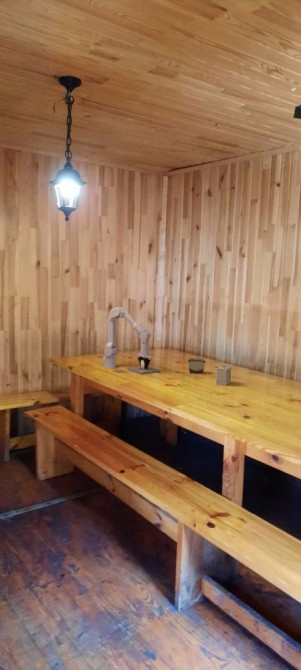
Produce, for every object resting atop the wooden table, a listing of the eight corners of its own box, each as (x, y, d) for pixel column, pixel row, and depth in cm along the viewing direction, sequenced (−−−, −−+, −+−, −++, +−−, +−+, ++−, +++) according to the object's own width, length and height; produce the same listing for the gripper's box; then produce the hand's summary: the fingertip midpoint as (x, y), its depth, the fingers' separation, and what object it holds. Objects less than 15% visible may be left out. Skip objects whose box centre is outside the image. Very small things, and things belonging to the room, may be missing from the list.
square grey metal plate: (111, 372, 331) (111, 370, 331) (121, 371, 336) (121, 369, 336) (118, 374, 325) (118, 373, 325) (128, 373, 330) (128, 371, 330)
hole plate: (127, 371, 336) (127, 367, 335) (146, 369, 345) (146, 365, 345) (141, 376, 323) (141, 372, 323) (160, 373, 333) (160, 369, 333)
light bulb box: (220, 381, 316) (221, 365, 314) (231, 382, 313) (232, 366, 311) (215, 384, 306) (216, 367, 305) (226, 386, 303) (226, 369, 302)
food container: (205, 372, 342) (205, 358, 341) (205, 374, 336) (205, 360, 335) (187, 371, 343) (188, 357, 342) (187, 373, 337) (187, 359, 336)
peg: (139, 370, 334) (139, 360, 333) (144, 369, 337) (144, 359, 336) (143, 371, 331) (143, 361, 330) (147, 370, 334) (148, 360, 333)
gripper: (133, 347, 335) (133, 367, 337) (146, 350, 324) (145, 370, 326) (141, 346, 340) (141, 366, 341) (154, 350, 328) (154, 369, 330)
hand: (144, 368), depth 334 cm, fingers closed on peg, 4 cm apart
